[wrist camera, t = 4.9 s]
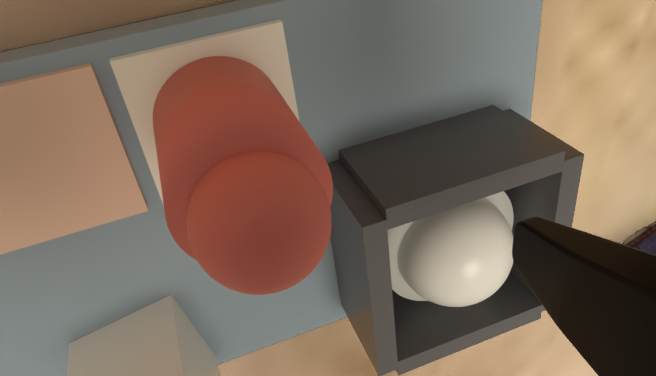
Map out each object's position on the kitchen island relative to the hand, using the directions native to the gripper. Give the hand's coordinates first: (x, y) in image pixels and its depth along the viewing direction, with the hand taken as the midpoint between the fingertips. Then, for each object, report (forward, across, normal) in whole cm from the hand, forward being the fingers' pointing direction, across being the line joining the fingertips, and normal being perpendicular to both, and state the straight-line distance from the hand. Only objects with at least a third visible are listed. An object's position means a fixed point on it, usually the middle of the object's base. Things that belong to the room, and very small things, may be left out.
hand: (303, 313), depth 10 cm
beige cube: (+9, +5, +9) cm, 14 cm away
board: (+10, +1, +4) cm, 11 cm away
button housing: (+9, -7, +6) cm, 13 cm away
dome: (+9, -7, +6) cm, 13 cm away
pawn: (+9, 0, 0) cm, 9 cm away
